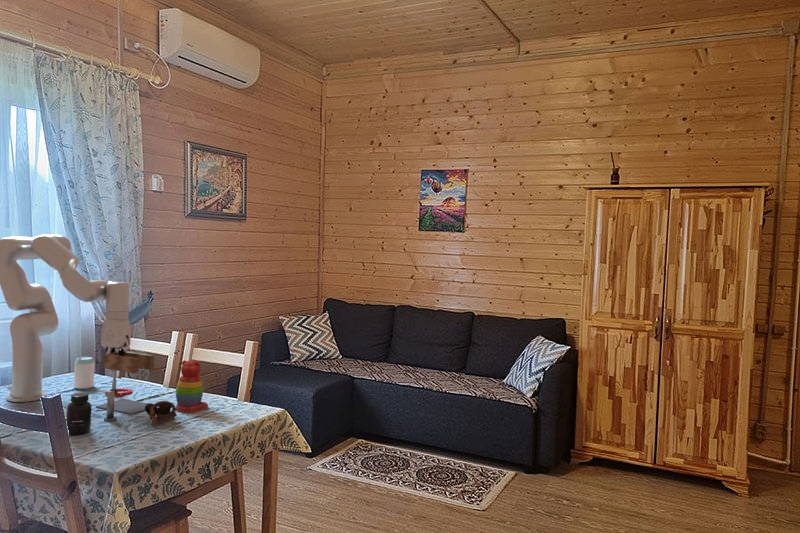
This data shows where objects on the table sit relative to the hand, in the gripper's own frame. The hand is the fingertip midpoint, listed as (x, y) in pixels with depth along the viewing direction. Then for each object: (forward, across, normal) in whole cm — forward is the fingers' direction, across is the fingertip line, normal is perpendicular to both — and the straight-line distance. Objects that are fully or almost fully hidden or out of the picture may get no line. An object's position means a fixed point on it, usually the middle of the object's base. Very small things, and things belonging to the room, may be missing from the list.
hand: (115, 365), depth 214 cm
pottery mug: (+15, +28, -7) cm, 33 cm away
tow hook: (+15, -11, +12) cm, 22 cm away
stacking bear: (+15, +26, +10) cm, 31 cm away
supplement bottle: (+15, +15, -28) cm, 35 cm away
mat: (+14, +6, 0) cm, 16 cm away
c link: (0, +6, 0) cm, 6 cm away
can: (+15, -29, +12) cm, 34 cm away
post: (+14, +13, -14) cm, 24 cm away
